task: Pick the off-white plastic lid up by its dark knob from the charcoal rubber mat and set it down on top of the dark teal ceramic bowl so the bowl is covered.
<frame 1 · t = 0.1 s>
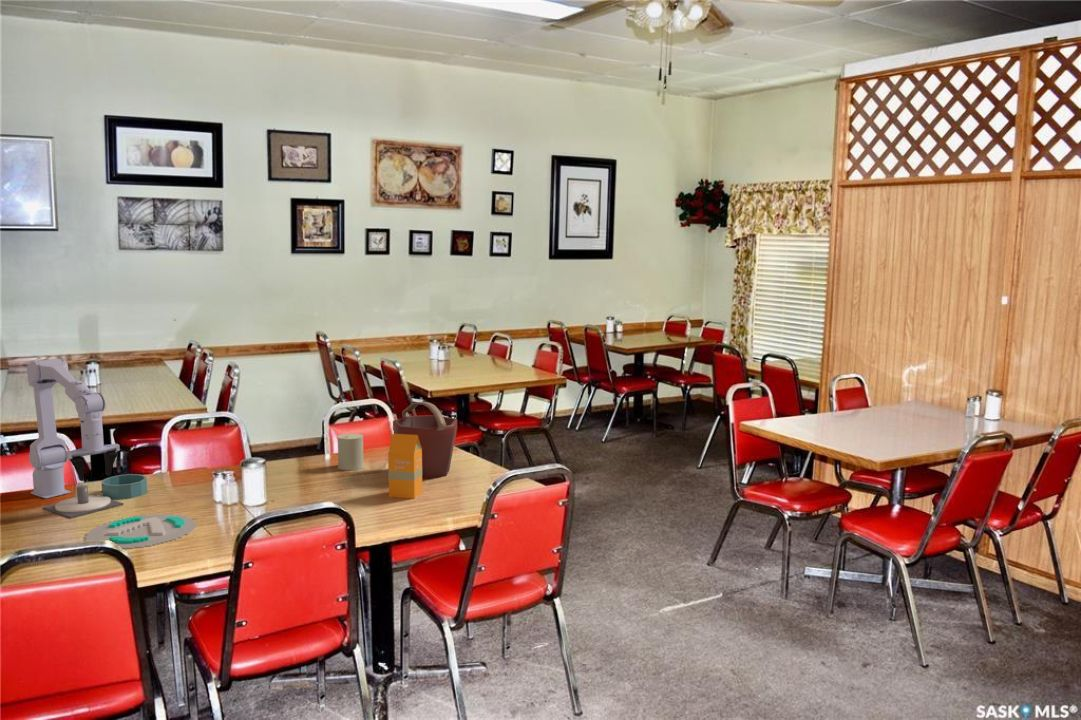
hand: (95, 477, 258), 10 cm above the table, tool pointing down, fingers open, 7 cm apart
bucket: (427, 472, 304), on the table
lid: (82, 495, 261), on the mat
bowl: (125, 493, 276), on the table
orange juice: (405, 494, 278), on the table
mat: (83, 506, 262), on the table
can: (350, 467, 310), on the table
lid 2: (142, 533, 241), on the table
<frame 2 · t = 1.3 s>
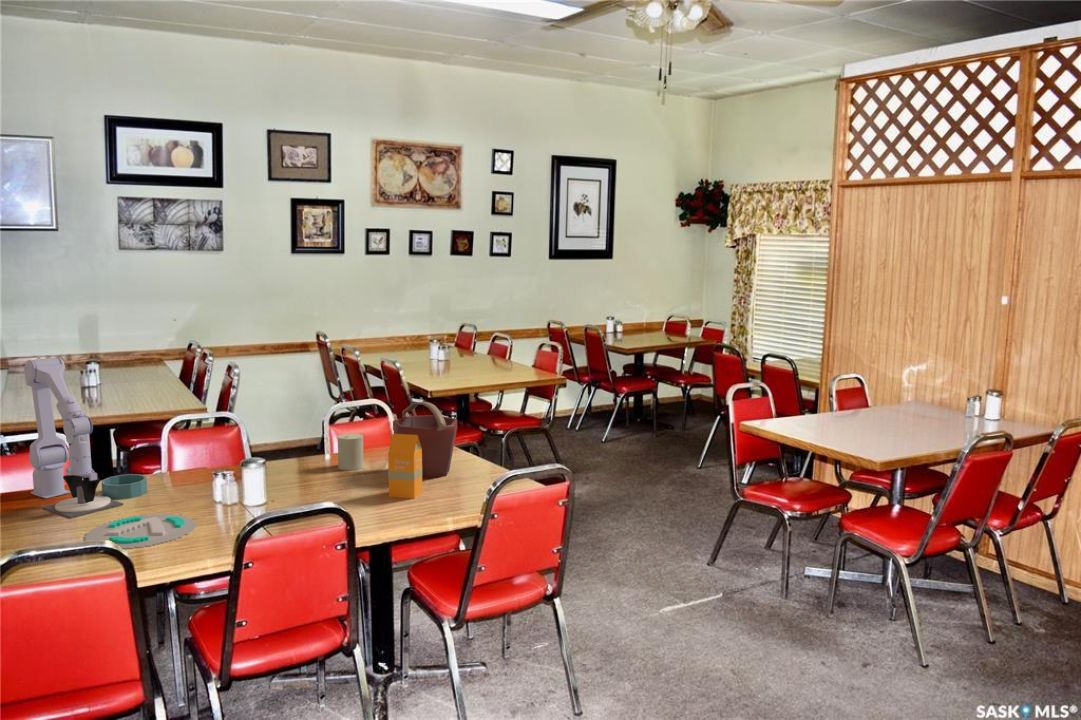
hand: (83, 499, 262), 2 cm above the table, tool pointing down, fingers open, 7 cm apart
nothing on the table moved.
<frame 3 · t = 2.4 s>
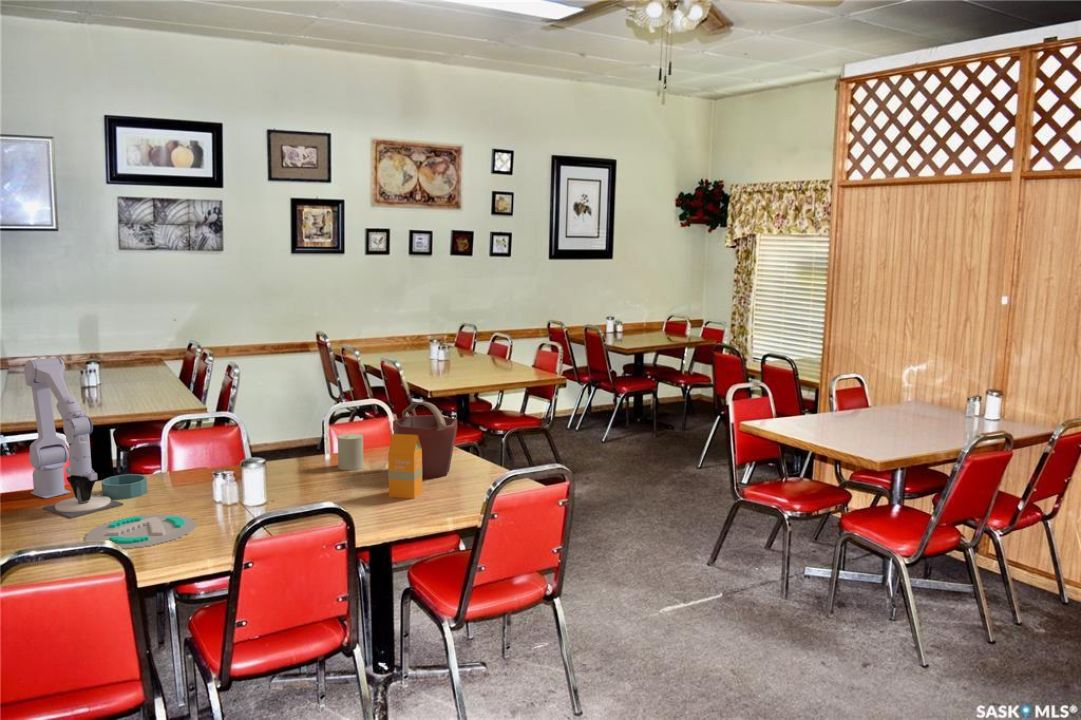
hand: (83, 499, 262), 2 cm above the table, tool pointing down, fingers closed on lid, 3 cm apart
lid: (82, 495, 261), on the mat, touching gripper
everything else where it was.
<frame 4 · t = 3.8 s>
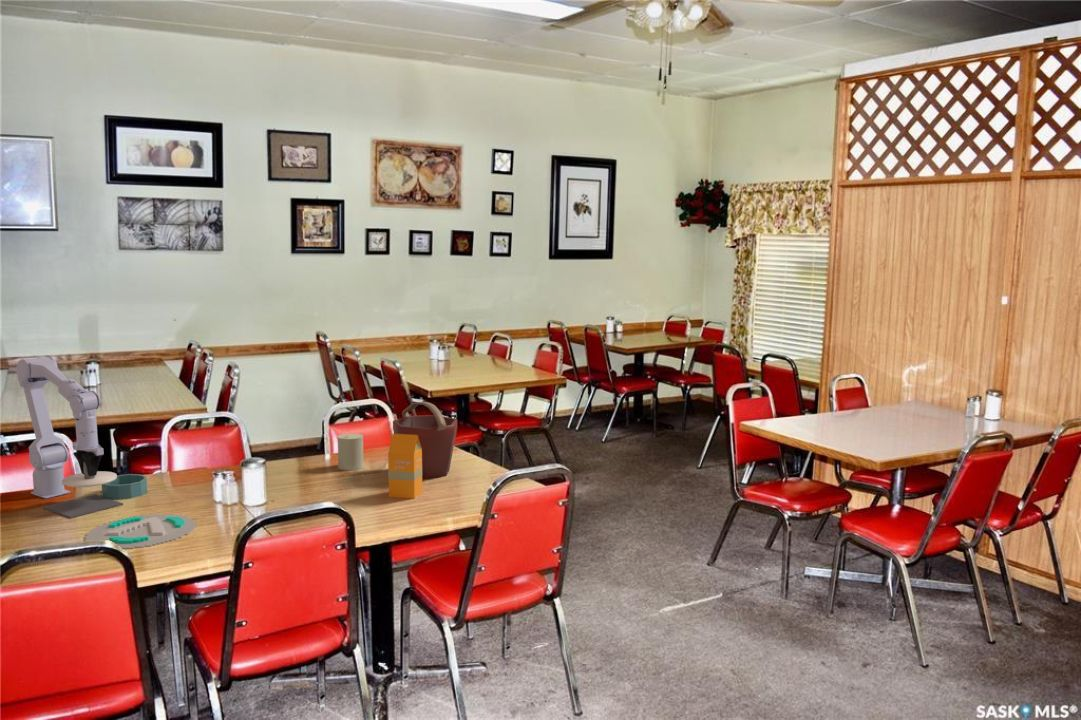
hand: (89, 474, 263), 9 cm above the table, tool pointing down, fingers closed on lid, 3 cm apart
lid: (89, 471, 263), point 10 cm above the table, touching gripper
everything else where it was.
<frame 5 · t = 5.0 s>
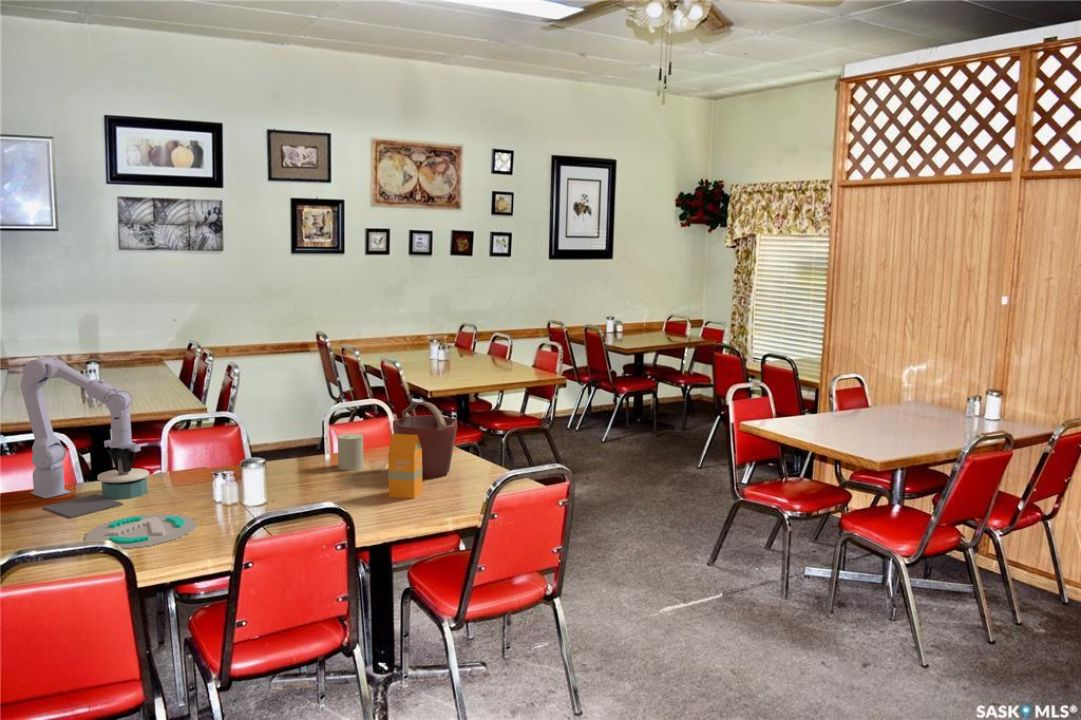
hand: (123, 470, 275), 7 cm above the table, tool pointing down, fingers closed on lid, 3 cm apart
lid: (123, 467, 275), point 8 cm above the table, touching gripper
everything else where it was.
when the fingers open (7 cm above the table, at t = 5.7 s): lid drops 1 cm, resting on bowl.
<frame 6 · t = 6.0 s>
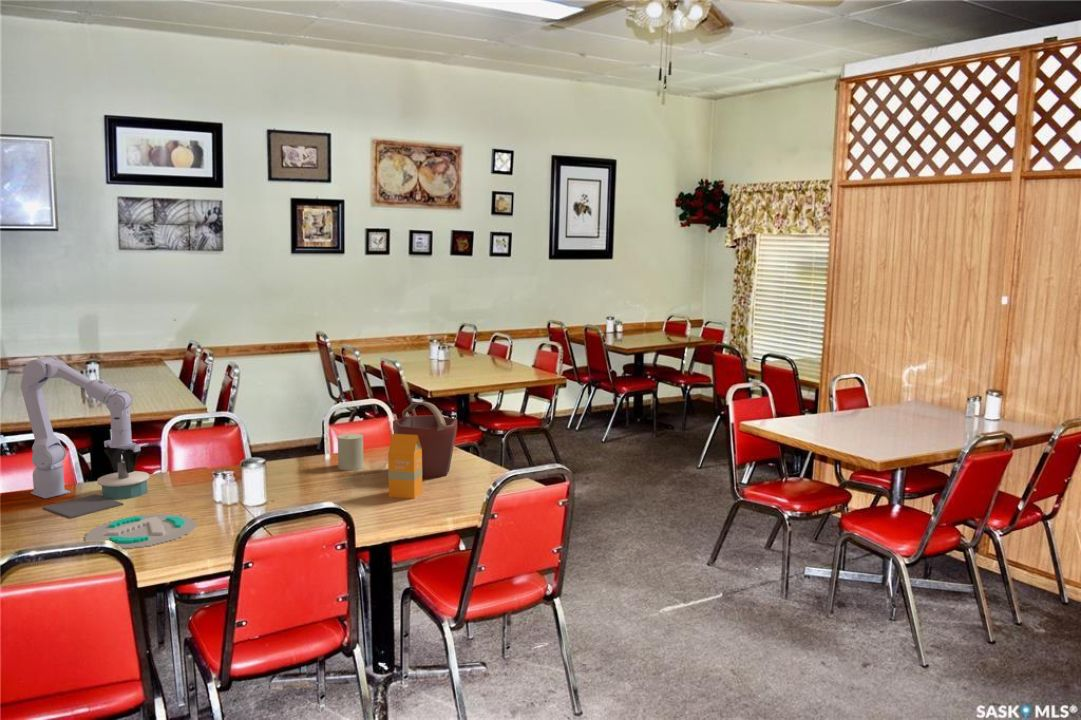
hand: (123, 471, 275), 7 cm above the table, tool pointing down, fingers open, 6 cm apart
lid: (123, 471, 275), on the bowl, point 7 cm above the table
everything else where it was.
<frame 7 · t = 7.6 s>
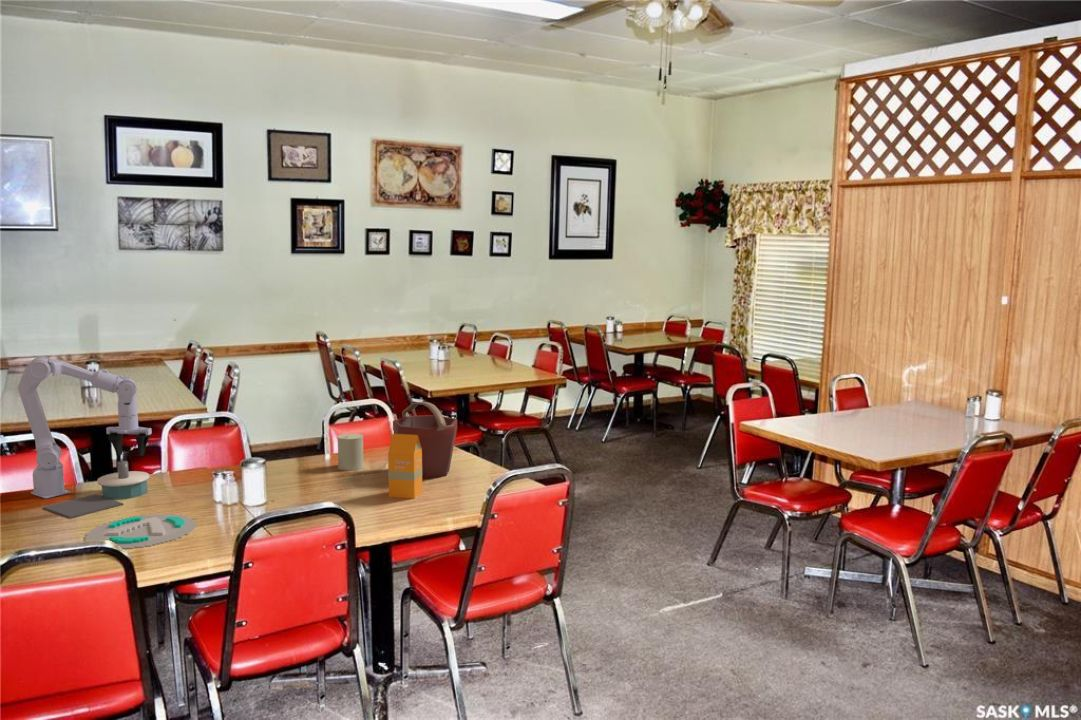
hand: (130, 455, 283), 10 cm above the table, tool pointing down, fingers open, 7 cm apart
nothing on the table moved.
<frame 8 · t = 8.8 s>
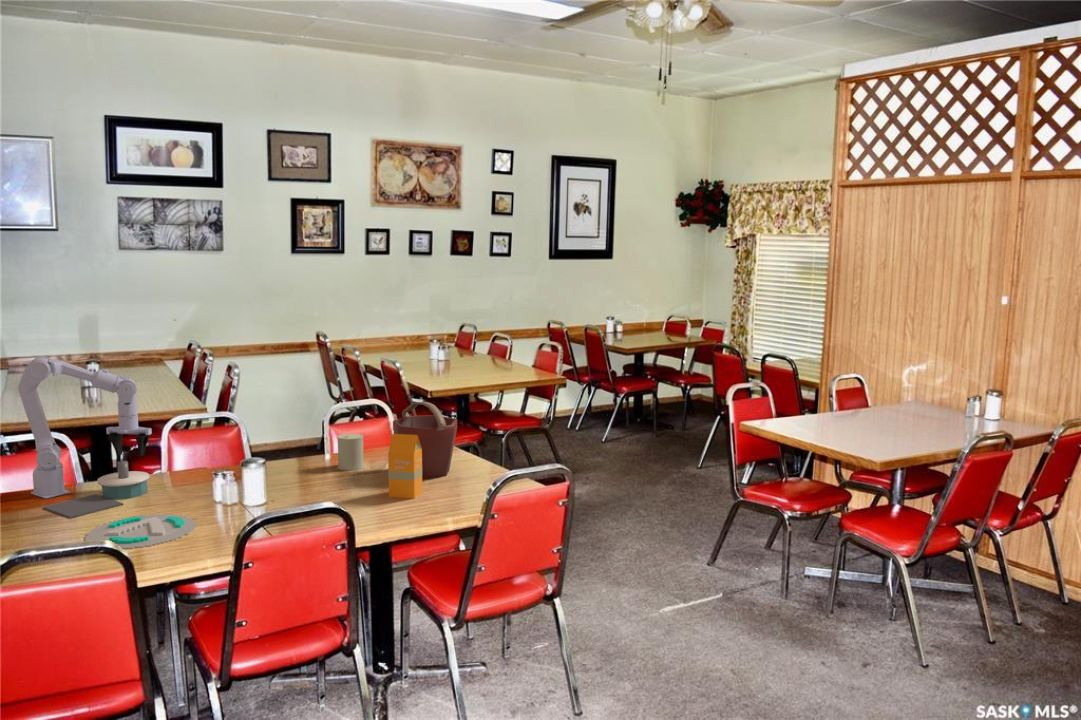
hand: (130, 455, 283), 10 cm above the table, tool pointing down, fingers open, 7 cm apart
nothing on the table moved.
at the end: lid 0.2 cm off-centre on the bowl, point 7.4 cm above the bowl's base; lid tilted 0°; the gripper is holding nothing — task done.
